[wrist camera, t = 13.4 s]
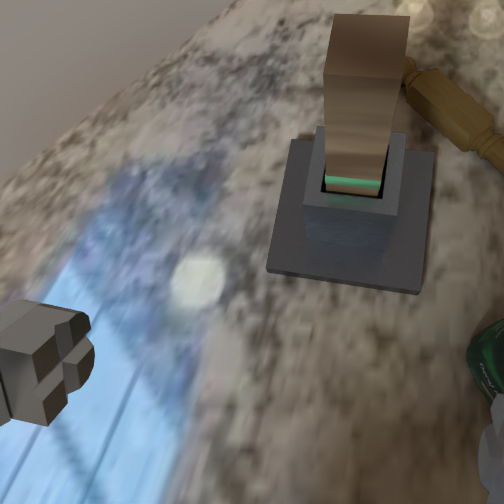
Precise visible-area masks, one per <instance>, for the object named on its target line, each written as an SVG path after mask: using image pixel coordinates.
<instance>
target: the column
mask: <svg viewBox="0 0 504 504" xmlns="http://www.w3.org/2000/svg"><path fill="white" fill-rule="evenodd" d="M409 21H410V16H388V15H358V14H334V19H333V25H332V30H331V35H330V41H329V46H328V51H327V57H326V62H325V67H324V73H323V84H324V125H325V166H326V173H325V183H326V193H331V194H339V195H348V196H357V197H366V198H375V199H377V195H378V191H379V189H380V185H381V179H382V172H383V167H384V162H385V158H386V153H387V148H388V143H389V139H390V134H391V129H392V124H393V120H394V115H395V110H396V105H397V101H398V96H399V91H400V87H401V82H402V76H403V68H404V60H405V53H406V45H407V37H408V29H409Z"/></svg>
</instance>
